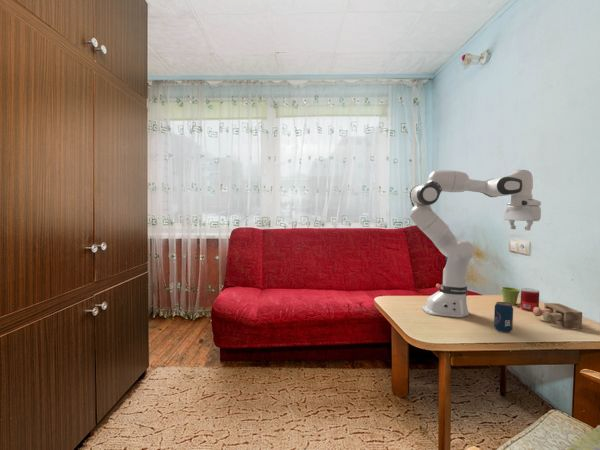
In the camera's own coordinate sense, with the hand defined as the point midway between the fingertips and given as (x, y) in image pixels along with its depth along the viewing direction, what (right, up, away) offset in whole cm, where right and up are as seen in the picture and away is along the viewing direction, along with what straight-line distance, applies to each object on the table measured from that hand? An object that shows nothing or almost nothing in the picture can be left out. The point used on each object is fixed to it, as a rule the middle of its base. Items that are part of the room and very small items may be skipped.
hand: (520, 229), depth 157 cm
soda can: (-21, -45, -19) cm, 53 cm away
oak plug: (+8, -43, -12) cm, 45 cm away
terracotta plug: (+8, -42, -5) cm, 44 cm away
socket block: (+13, -45, -9) cm, 47 cm away
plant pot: (+10, -43, +22) cm, 50 cm away
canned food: (+13, -44, +11) cm, 47 cm away
